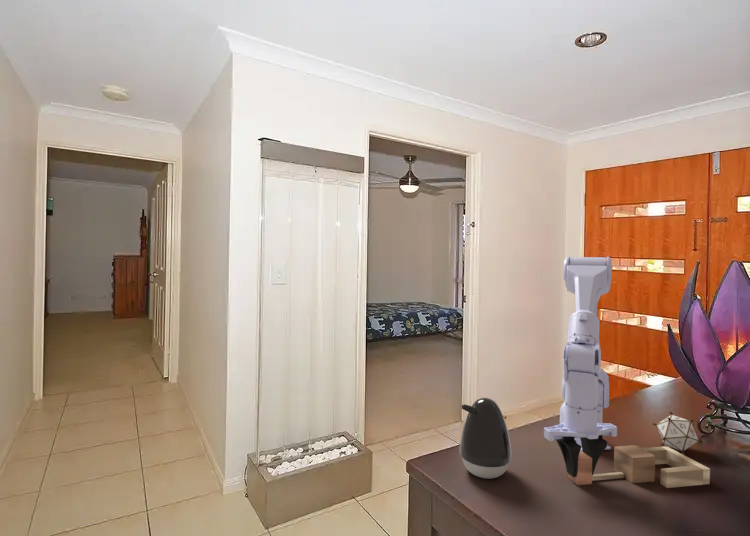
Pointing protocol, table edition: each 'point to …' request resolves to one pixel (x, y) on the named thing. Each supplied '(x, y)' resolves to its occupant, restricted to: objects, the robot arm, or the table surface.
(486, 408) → the pump dispenser
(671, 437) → the game die
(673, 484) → the wooden u-channel piece
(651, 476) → the tethered block
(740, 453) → the table surface
